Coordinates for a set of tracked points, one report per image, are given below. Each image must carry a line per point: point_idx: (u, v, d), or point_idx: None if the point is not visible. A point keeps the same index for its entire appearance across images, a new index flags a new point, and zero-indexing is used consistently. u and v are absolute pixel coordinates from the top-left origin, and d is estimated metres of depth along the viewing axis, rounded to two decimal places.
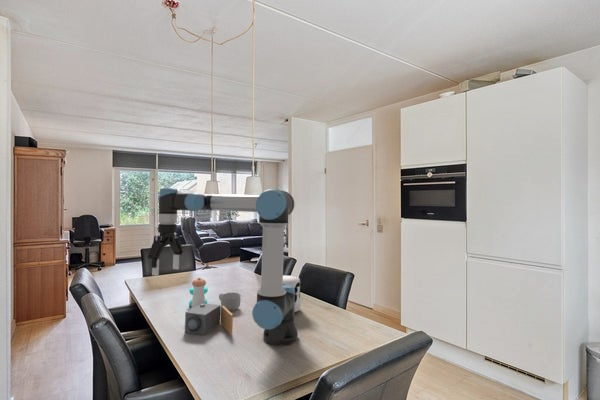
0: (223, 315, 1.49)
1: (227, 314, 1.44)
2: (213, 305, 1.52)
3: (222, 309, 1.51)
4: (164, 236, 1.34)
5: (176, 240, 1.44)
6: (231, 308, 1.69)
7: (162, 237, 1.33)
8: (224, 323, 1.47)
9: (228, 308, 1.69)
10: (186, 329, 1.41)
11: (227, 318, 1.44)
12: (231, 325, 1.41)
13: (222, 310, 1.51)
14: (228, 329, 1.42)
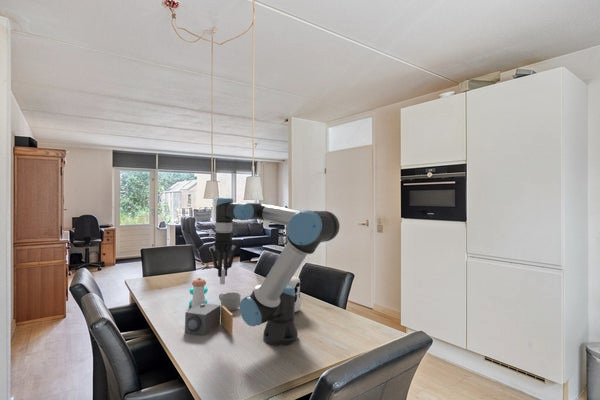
0: (223, 315, 1.49)
1: (227, 314, 1.44)
2: (213, 305, 1.52)
3: (222, 309, 1.51)
4: (216, 244, 1.40)
5: (231, 252, 1.45)
6: (231, 308, 1.69)
7: (215, 246, 1.40)
8: (224, 323, 1.47)
9: (228, 308, 1.69)
10: (186, 329, 1.41)
11: (227, 318, 1.44)
12: (231, 325, 1.41)
13: (222, 310, 1.51)
14: (228, 329, 1.42)
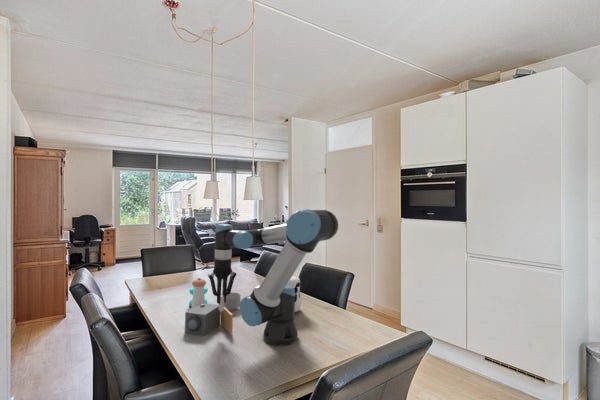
0: (223, 315, 1.49)
1: (227, 314, 1.44)
2: (213, 305, 1.52)
3: None
4: (215, 271, 1.40)
5: (230, 278, 1.44)
6: (231, 308, 1.69)
7: (214, 273, 1.40)
8: (224, 323, 1.47)
9: (228, 308, 1.69)
10: (186, 329, 1.41)
11: (227, 318, 1.44)
12: (231, 325, 1.41)
13: None
14: (228, 329, 1.42)
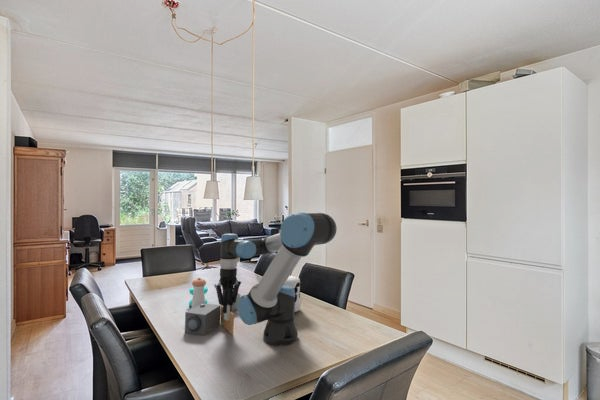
0: (223, 315, 1.49)
1: None
2: (213, 305, 1.52)
3: (222, 309, 1.51)
4: (222, 281, 1.40)
5: (235, 287, 1.46)
6: None
7: (221, 283, 1.40)
8: (224, 323, 1.48)
9: None
10: (186, 329, 1.41)
11: None
12: (232, 325, 1.41)
13: (222, 310, 1.51)
14: (229, 329, 1.43)
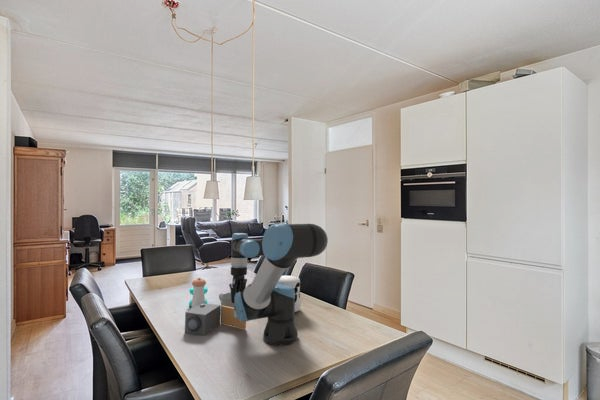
0: (227, 314, 1.51)
1: None
2: (213, 305, 1.52)
3: (224, 309, 1.51)
4: (237, 279, 1.44)
5: None
6: None
7: (235, 281, 1.43)
8: (230, 321, 1.50)
9: None
10: (186, 329, 1.41)
11: None
12: (245, 321, 1.46)
13: (224, 310, 1.51)
14: (240, 325, 1.47)
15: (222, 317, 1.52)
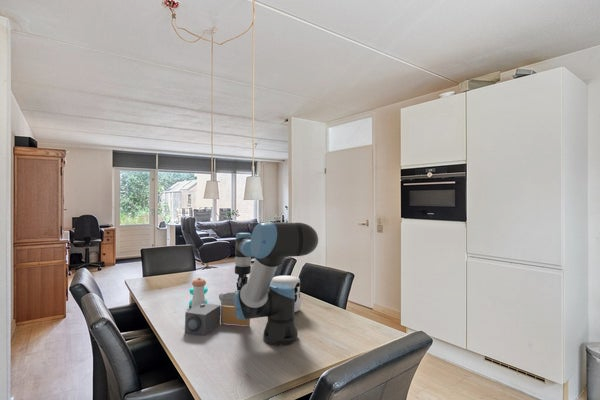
0: (228, 313, 1.52)
1: None
2: (213, 305, 1.52)
3: (225, 308, 1.52)
4: (243, 278, 1.47)
5: None
6: None
7: (242, 280, 1.46)
8: (232, 320, 1.51)
9: None
10: (186, 329, 1.41)
11: None
12: None
13: (225, 309, 1.52)
14: (244, 323, 1.50)
15: (223, 317, 1.52)
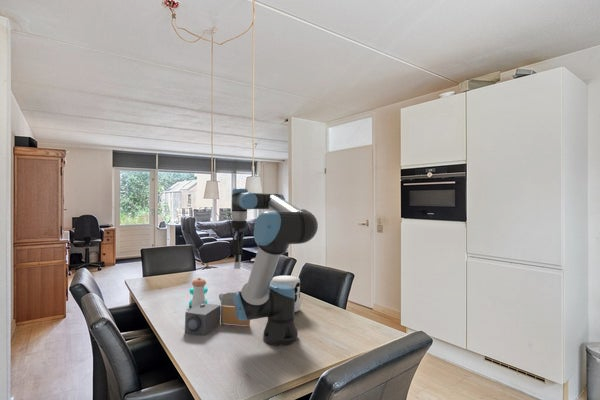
0: (228, 313, 1.52)
1: None
2: (213, 305, 1.52)
3: (225, 308, 1.52)
4: (239, 232, 1.50)
5: None
6: None
7: (238, 234, 1.49)
8: (232, 320, 1.51)
9: None
10: (186, 329, 1.41)
11: None
12: None
13: (225, 309, 1.52)
14: (244, 323, 1.50)
15: (223, 317, 1.52)
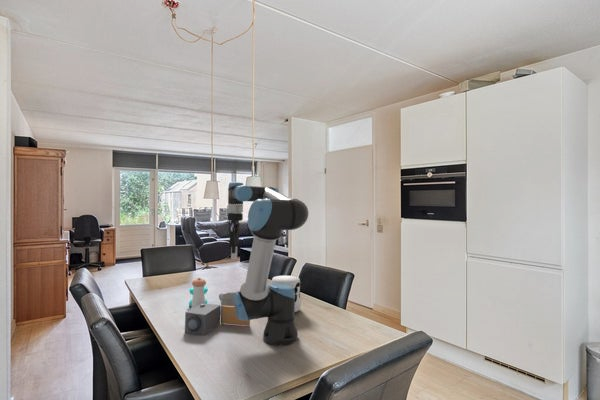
0: (228, 313, 1.52)
1: None
2: (213, 305, 1.52)
3: (225, 308, 1.52)
4: (235, 224, 1.56)
5: None
6: None
7: (234, 225, 1.56)
8: (232, 320, 1.51)
9: None
10: (186, 329, 1.41)
11: None
12: None
13: (225, 309, 1.52)
14: (244, 323, 1.50)
15: (223, 317, 1.52)
